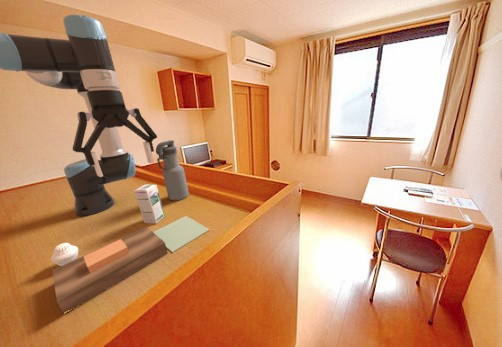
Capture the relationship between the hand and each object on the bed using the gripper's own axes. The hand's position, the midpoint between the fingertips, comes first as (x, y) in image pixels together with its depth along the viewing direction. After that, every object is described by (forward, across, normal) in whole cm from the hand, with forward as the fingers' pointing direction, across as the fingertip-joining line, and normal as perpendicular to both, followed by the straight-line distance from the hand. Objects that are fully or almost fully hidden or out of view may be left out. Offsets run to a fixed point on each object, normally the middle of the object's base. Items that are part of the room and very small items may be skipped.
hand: (127, 168), depth 57 cm
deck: (+26, -11, -3) cm, 28 cm away
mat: (+26, +9, -4) cm, 28 cm away
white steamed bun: (+26, -19, +11) cm, 34 cm away
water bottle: (+26, +25, +25) cm, 44 cm away
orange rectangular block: (+22, -12, -3) cm, 25 cm away
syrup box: (+26, +8, +14) cm, 30 cm away
